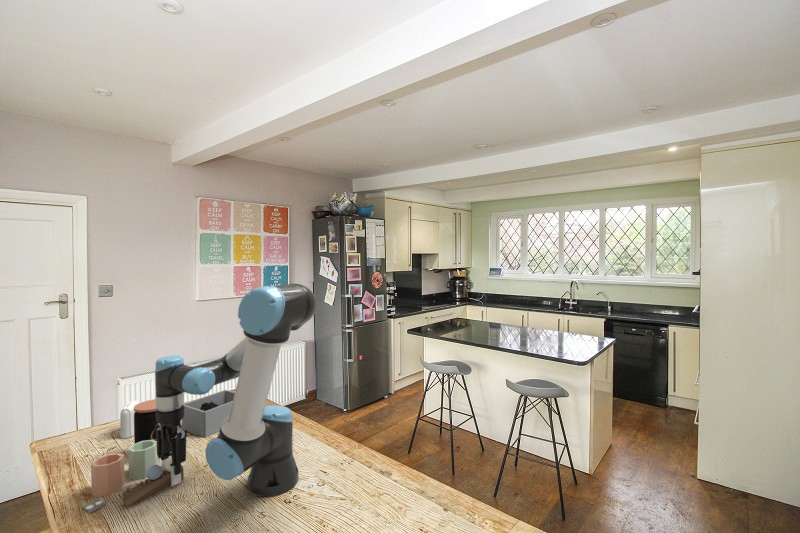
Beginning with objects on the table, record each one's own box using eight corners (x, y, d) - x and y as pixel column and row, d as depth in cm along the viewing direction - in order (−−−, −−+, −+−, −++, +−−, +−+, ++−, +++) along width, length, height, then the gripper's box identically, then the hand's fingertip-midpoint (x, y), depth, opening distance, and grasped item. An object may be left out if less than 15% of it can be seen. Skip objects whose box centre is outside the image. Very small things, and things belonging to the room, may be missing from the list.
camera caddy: (249, 418, 167) (248, 395, 167) (204, 437, 149) (204, 412, 149) (225, 411, 175) (225, 389, 174) (181, 429, 157) (180, 404, 157)
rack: (183, 479, 121) (183, 465, 121) (127, 508, 107) (126, 492, 107) (179, 477, 122) (178, 463, 122) (122, 506, 108) (122, 489, 108)
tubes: (170, 474, 124) (169, 446, 124) (90, 513, 105) (89, 481, 105) (149, 464, 130) (149, 438, 130) (70, 499, 111) (69, 469, 111)
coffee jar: (153, 463, 131) (152, 411, 130) (126, 460, 133) (125, 408, 132) (177, 448, 141) (176, 399, 141) (152, 445, 143) (151, 397, 143)
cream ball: (181, 469, 120) (181, 456, 120) (168, 475, 116) (168, 462, 116) (174, 466, 122) (174, 453, 122) (161, 472, 118) (161, 459, 118)
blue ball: (165, 477, 115) (165, 464, 115) (151, 484, 112) (151, 470, 112) (157, 473, 117) (157, 460, 117) (143, 480, 114) (143, 467, 114)
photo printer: (131, 428, 158) (130, 398, 158) (142, 427, 159) (142, 397, 159) (118, 439, 148) (118, 407, 148) (131, 438, 149) (130, 406, 149)
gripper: (198, 408, 118) (199, 483, 118) (167, 398, 126) (168, 468, 126) (174, 416, 111) (175, 496, 112) (142, 405, 119) (143, 480, 120)
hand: (171, 481), depth 119 cm, fingers closed on cream ball, 4 cm apart
